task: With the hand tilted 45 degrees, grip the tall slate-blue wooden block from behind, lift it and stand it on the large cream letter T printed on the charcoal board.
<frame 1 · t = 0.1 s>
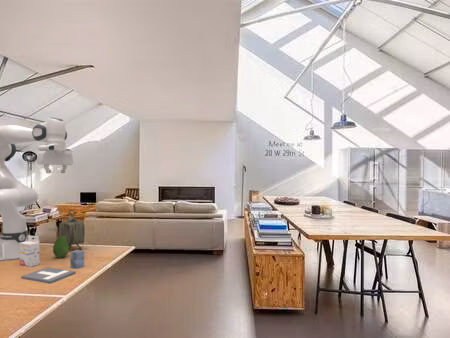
hand: (55, 173, 167), 48 cm above the table, tool pointing down, fingers open, 8 cm apart
ink cartridge box: (29, 265, 162), on the table
fruit: (60, 257, 176), on the table
olive bag: (71, 249, 193), on the table
slate-blue block: (77, 266, 159), on the table
letter board: (49, 275, 146), on the table
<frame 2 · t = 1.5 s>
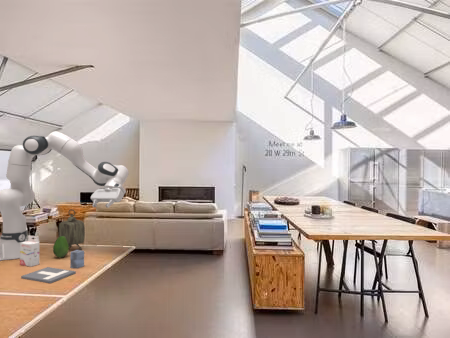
hand: (100, 206, 175), 29 cm above the table, tool tilted 45°, fingers open, 8 cm apart
nothing on the table moved.
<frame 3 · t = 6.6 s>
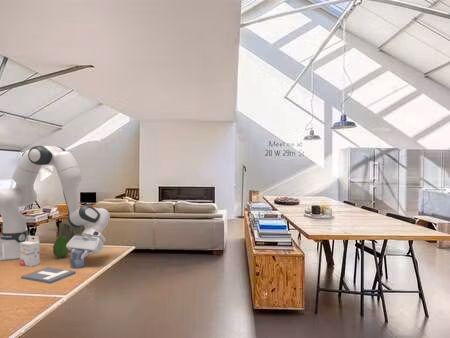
hand: (76, 258, 159), 5 cm above the table, tool tilted 45°, fingers closed on slate-blue block, 4 cm apart
slate-blue block: (77, 266, 159), on the table, touching gripper
everything else where it was.
when the fingers open (7 cm above the table, at t = 13.0 s): slate-blue block drops 1 cm, resting on letter board.
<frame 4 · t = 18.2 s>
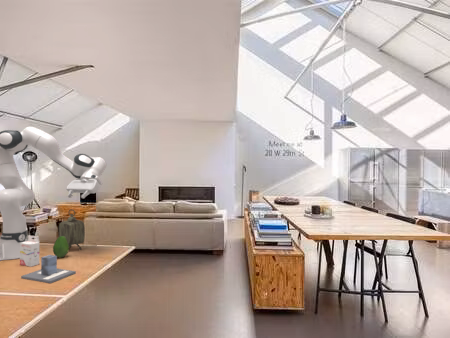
hand: (75, 197, 174), 34 cm above the table, tool tilted 45°, fingers open, 8 cm apart
slate-blue block: (49, 273, 146), point 1 cm above the table, touching letter board
everything else where it was.
at the end: slate-blue block 0.1 cm off-centre on the letter board, point 1.0 cm above the letter board's base; slate-blue block tilted 0°; the gripper is holding nothing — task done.
